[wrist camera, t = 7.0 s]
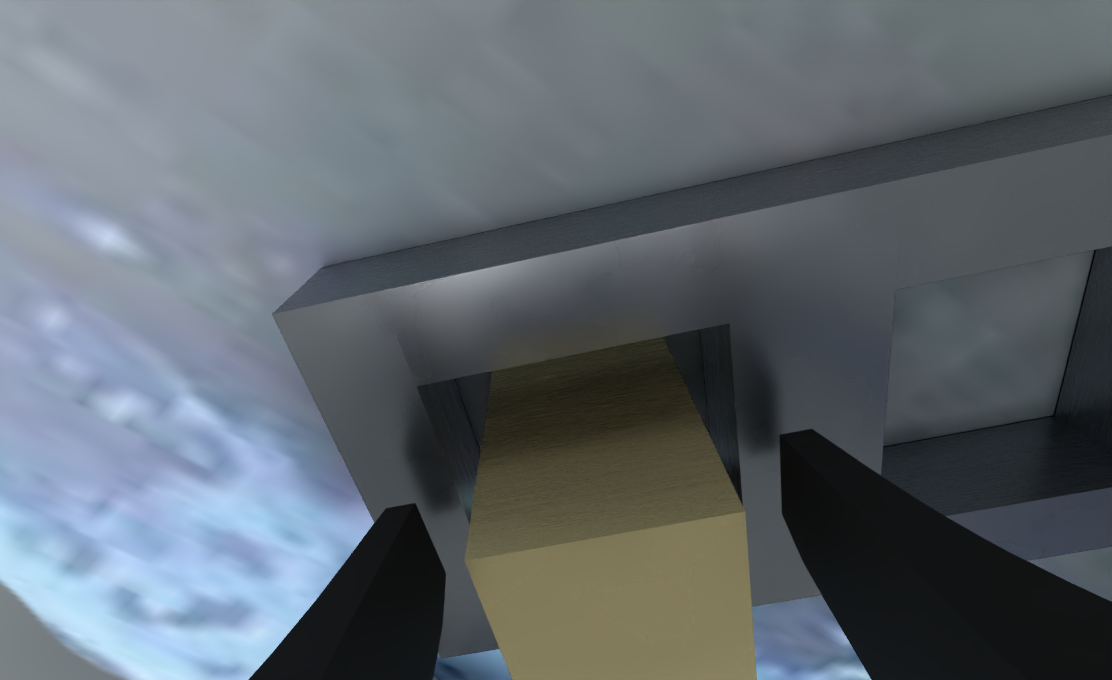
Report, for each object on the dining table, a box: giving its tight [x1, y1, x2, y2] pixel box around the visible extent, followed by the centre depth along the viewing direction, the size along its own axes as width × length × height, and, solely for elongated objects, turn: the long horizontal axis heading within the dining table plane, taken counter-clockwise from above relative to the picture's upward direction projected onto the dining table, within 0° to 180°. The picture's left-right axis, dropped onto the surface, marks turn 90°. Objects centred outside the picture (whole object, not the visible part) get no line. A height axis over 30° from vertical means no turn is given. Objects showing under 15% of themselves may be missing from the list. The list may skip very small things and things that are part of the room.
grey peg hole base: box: [272, 95, 1112, 659], centre depth 12 cm, size 19×10×2 cm, turn 102°
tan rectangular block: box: [465, 337, 757, 680], centre depth 11 cm, size 4×4×6 cm
